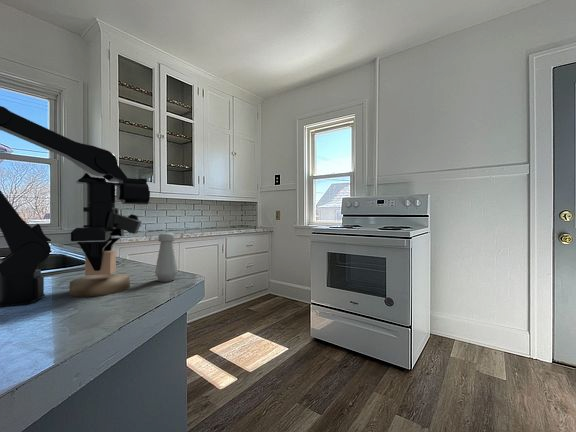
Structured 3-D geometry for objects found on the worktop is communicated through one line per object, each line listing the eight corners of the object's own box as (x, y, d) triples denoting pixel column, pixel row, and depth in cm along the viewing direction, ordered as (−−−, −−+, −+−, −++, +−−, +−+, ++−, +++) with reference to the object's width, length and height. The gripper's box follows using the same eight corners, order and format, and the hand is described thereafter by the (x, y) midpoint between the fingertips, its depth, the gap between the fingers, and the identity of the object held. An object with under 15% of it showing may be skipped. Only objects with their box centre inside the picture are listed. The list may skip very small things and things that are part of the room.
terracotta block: (85, 275, 64) (85, 253, 64) (92, 271, 69) (92, 251, 69) (110, 274, 66) (110, 252, 66) (115, 270, 71) (115, 250, 71)
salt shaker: (172, 282, 75) (172, 233, 75) (151, 282, 75) (150, 233, 75) (181, 277, 81) (181, 232, 81) (161, 277, 81) (161, 232, 81)
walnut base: (59, 298, 60) (59, 286, 60) (80, 285, 71) (80, 275, 71) (123, 293, 64) (123, 282, 64) (134, 282, 75) (134, 272, 75)
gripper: (131, 202, 61) (130, 273, 61) (144, 205, 79) (144, 261, 79) (69, 201, 58) (69, 277, 58) (98, 205, 75) (98, 263, 75)
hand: (100, 268), depth 67 cm, fingers closed on terracotta block, 5 cm apart
